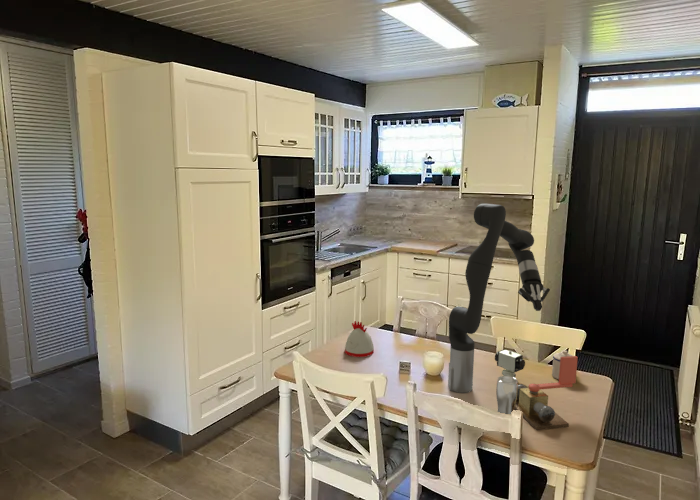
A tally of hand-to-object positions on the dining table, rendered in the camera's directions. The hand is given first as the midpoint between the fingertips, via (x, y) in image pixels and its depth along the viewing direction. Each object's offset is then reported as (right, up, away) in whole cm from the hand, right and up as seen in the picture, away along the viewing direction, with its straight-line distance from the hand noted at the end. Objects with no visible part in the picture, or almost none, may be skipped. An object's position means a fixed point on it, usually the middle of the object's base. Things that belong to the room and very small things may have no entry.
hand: (538, 309), depth 192 cm
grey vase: (-21, -36, -23) cm, 47 cm away
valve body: (-9, -35, -18) cm, 40 cm away
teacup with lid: (+16, -30, +14) cm, 37 cm away
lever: (-2, -26, -18) cm, 32 cm away
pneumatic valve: (-8, -30, +12) cm, 34 cm away
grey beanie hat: (-71, -25, +41) cm, 85 cm away
